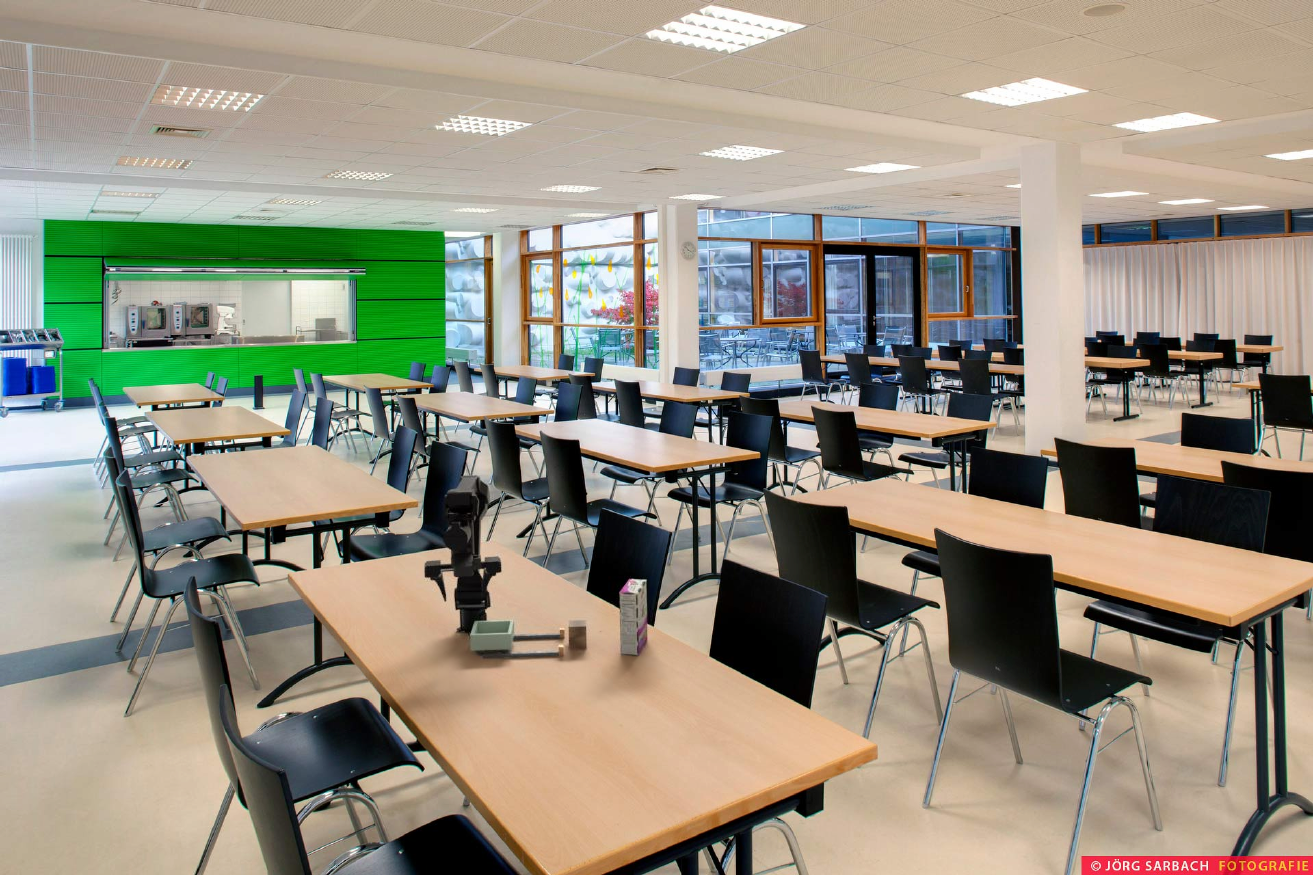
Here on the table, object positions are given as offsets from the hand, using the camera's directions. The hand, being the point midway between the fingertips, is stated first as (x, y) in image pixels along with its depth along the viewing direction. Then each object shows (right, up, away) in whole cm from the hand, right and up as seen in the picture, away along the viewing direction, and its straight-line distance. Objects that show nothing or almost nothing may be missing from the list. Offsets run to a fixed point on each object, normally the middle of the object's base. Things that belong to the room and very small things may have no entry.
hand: (464, 599), depth 225 cm
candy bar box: (+43, -13, +3) cm, 45 cm away
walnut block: (+28, -13, +4) cm, 31 cm away
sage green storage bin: (+7, -13, +3) cm, 15 cm away
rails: (+15, -13, +3) cm, 20 cm away
